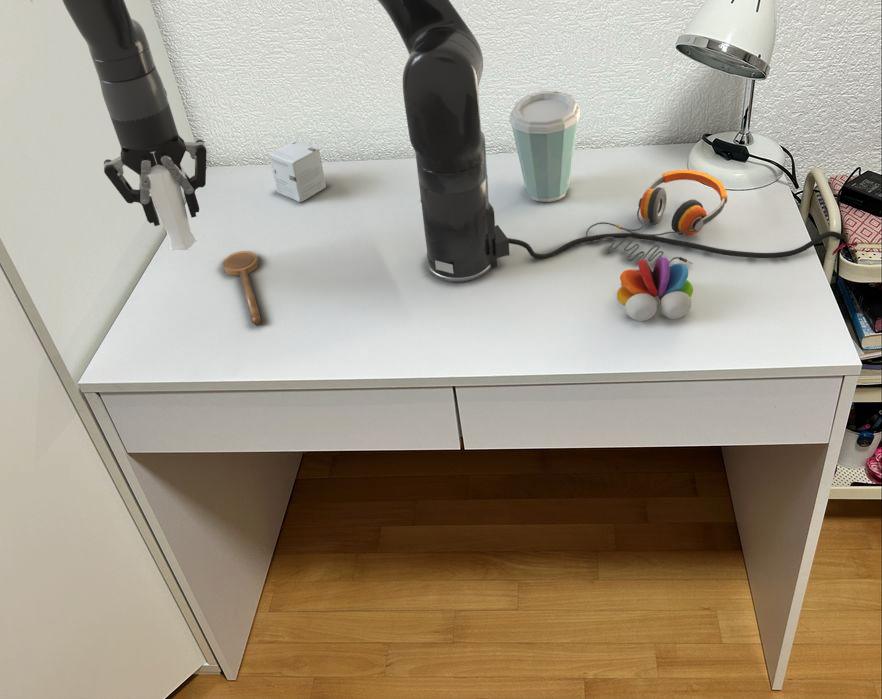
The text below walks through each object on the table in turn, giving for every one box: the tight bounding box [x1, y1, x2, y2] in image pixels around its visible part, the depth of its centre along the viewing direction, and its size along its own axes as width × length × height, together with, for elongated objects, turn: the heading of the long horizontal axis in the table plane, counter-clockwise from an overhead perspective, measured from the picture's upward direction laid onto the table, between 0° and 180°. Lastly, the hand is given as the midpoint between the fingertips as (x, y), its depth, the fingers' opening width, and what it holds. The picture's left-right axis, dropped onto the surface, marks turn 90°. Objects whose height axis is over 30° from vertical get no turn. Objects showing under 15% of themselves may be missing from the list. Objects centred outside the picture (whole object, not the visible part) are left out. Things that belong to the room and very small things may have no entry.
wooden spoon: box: [222, 250, 262, 325], centre depth 125 cm, size 18×5×1 cm, turn 18°
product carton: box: [268, 139, 327, 203], centre depth 143 cm, size 6×6×7 cm
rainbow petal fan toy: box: [616, 256, 694, 322], centre depth 112 cm, size 8×10×7 cm
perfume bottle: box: [145, 151, 197, 251], centre depth 120 cm, size 5×4×15 cm
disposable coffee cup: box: [508, 90, 581, 203], centre depth 134 cm, size 11×11×15 cm
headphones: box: [585, 169, 728, 267], centre depth 126 cm, size 17×5×20 cm
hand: (175, 218), depth 122 cm, fingers closed on perfume bottle, 4 cm apart
